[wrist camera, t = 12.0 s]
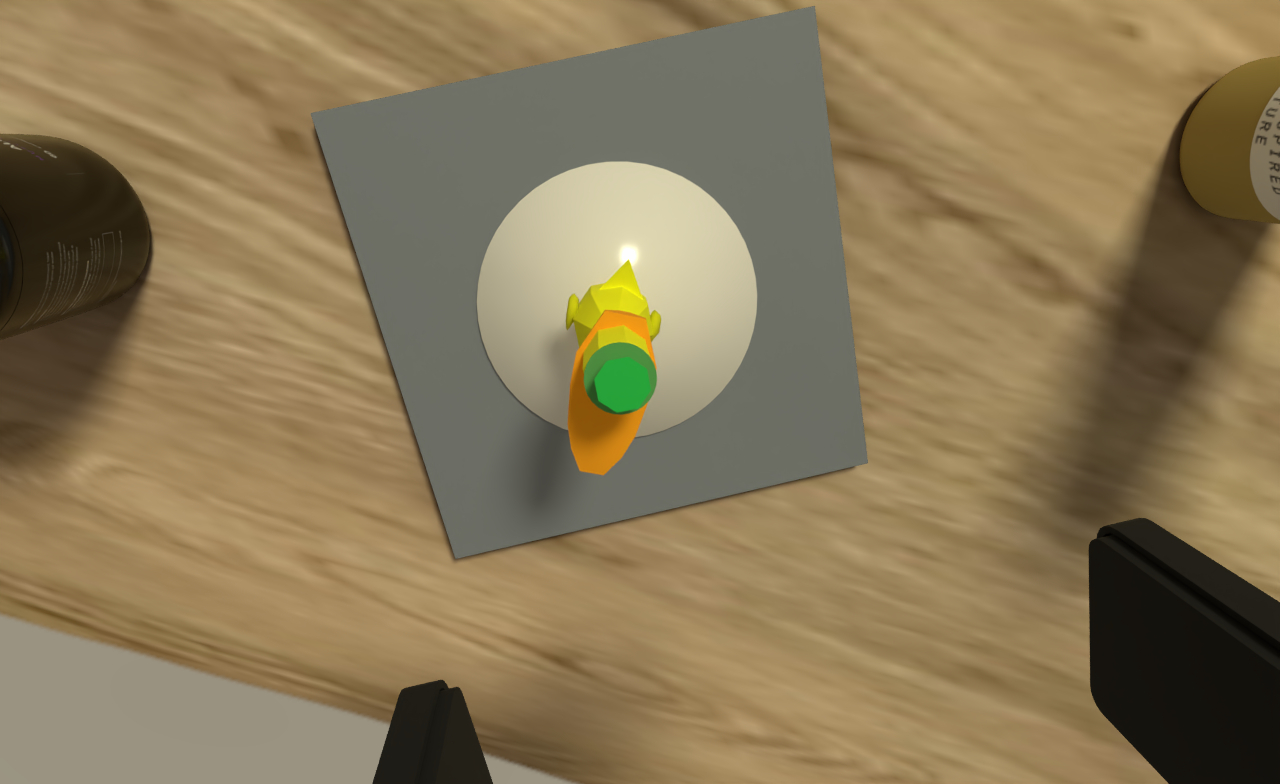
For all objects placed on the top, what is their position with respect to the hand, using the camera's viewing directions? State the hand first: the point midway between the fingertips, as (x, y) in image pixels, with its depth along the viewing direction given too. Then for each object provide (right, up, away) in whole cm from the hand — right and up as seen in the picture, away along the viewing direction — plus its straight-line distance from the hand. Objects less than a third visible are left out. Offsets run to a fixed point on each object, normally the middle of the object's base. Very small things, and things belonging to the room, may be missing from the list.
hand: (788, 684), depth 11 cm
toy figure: (-4, +7, +22) cm, 23 cm away
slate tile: (-3, +8, +23) cm, 24 cm away
